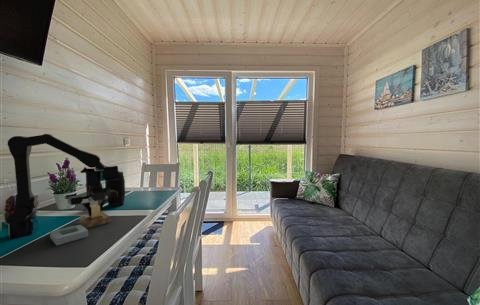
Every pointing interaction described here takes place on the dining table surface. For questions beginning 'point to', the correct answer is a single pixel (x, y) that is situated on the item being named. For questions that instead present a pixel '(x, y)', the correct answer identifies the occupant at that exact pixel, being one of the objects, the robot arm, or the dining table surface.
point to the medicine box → (92, 201)
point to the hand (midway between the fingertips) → (94, 215)
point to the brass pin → (94, 211)
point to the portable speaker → (119, 187)
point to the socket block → (68, 234)
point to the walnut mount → (94, 220)
